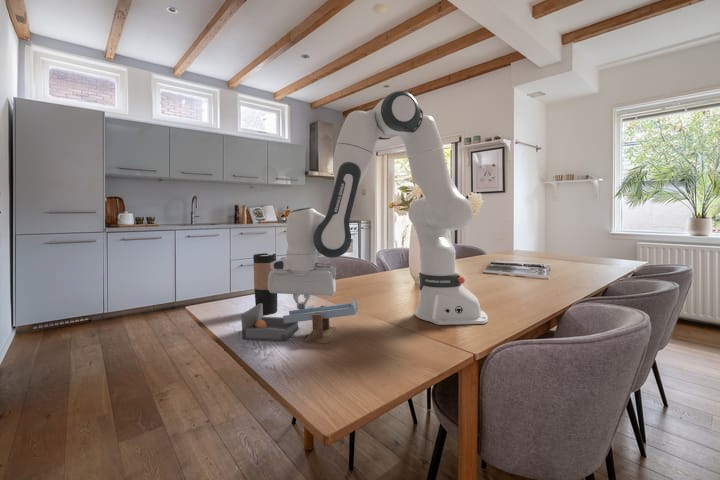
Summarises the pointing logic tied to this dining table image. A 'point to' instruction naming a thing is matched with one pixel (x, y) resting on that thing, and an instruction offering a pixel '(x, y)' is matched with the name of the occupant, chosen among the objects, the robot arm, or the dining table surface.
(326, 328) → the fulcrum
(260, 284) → the travel mug
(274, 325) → the tray
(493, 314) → the dining table surface
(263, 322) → the ball
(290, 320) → the lever
